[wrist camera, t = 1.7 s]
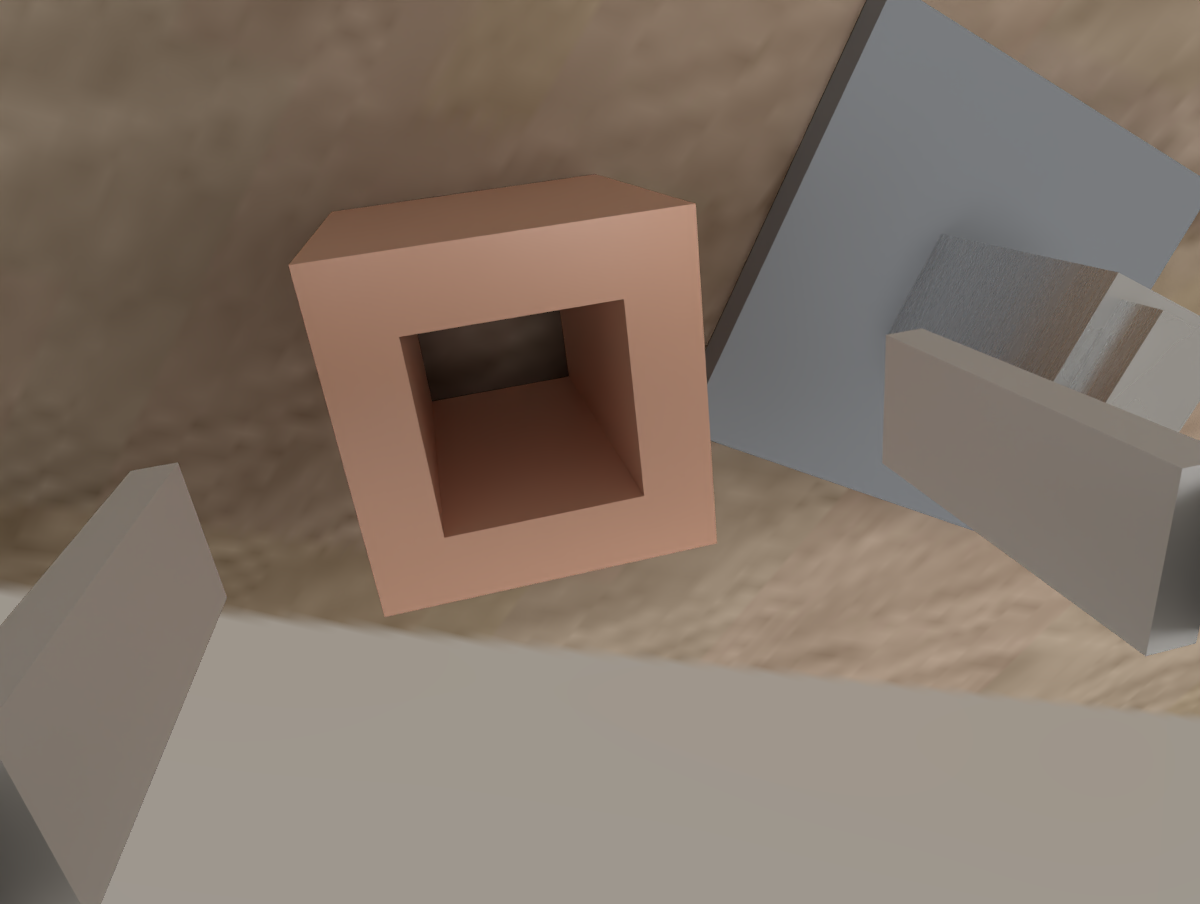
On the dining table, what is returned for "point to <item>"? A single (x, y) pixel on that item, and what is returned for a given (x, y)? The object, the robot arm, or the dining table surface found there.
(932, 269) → the square shaft
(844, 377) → the shaft plate
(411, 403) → the square open box
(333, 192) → the dining table surface
